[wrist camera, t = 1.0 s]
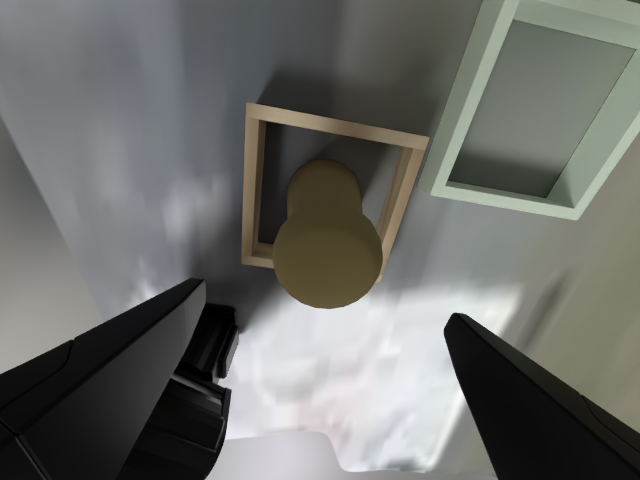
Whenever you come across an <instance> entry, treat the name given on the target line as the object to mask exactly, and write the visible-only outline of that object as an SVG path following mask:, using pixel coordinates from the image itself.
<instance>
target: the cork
mask: <svg viewBox="0 0 640 480" xmlns="http://www.w3.org/2000/svg"><path fill="white" fill-rule="evenodd" d="M287 217H288V219H287V220H286V221H285V222H284V223H283V224H282V225H281V227H280V230H279V232H278V235H277V237H276V239H275V242H274V245H273V267H274V270H275V273H276V275H277V278H278V281H279V282H280V283H281V285H282V286H283V287H284V288H285V290H286V291H287V292H288V293H289V294H290V295H291V296H292V297H294V298H295V299H297V300H298V301H299V302H301V303H303V304H306V305H309V306H312V307H315V308H324V309H333V308H339V307H344V306H347V305H349V304H351V303H354V302H356V301H358V300H359V299H360V298H362V297H363V296H364V295H365V294H367V293H368V292H369V290H370V289H371V288H372V286H373V285H374V283H375V282H376V280H377V279H378V277H379V275H380V271H381V267H382V263H383V252H382V243H381V239H380V237H379V235H378V234H377V232H376V230H375V228H374V226H373V224H372V222H371V221H370V220H369V219H368V218H367V217H366V216H365V215H363V214H362V205H361V194H360V186H359V183H358V181H357V179H356V177H355V175H354V174H353V173H352V172H351V171H350V170H349V169H348V168H347V167H346V166H345V165H343V164H341V163H339V162H337V161H335V160H326V159H320V160H315V161H311V162H308V163H307V164H305V165H303V166H302V167H300V168H299V169H298V170H297V171H296V172H295V174H294V175H293V176H292V177H291V180H290V182H289V185H288V187H287Z"/></svg>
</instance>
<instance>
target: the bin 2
mask: <svg viewBox="0 0 640 480" xmlns="http://www.w3.org/2000/svg"><path fill="white" fill-rule="evenodd" d="M513 19H514V20H518V21H523V22H527V23H531V24H535V25H539V26H543V27H547V28H552V29H556V30H560V31H564V32H568V33H572V34H576V35H581V36H585V37H589V38H593V39H597V40H601V41H606V42H610V43H614V44H618V45H622V46H626V47H630V48H635V49H636V51H635V53H634V54H633V56H632V58H631V59H630V61H629V63H628V64H627V66H626V68H625V69H624V71H623V73H622V74H621V76H620V77H619V79H618V81H617V82H616V84H615V86H614V87H613V89H612V91H611V92H610V94H609V96H608V97H607V99H606V101H605V102H604V104H603V106H602V107H601V109H600V110H599V112H598V114H597V115H596V117H595V119H594V120H593V122H592V124H591V125H590V127H589V129H588V130H587V132H586V134H585V135H584V137H583V138H582V140H581V142H580V143H579V145H578V147H577V148H576V150H575V152H574V153H573V155H572V157H571V158H570V160H569V162H568V163H567V165H566V167H565V168H564V170H563V171H562V173H561V175H560V176H559V178H558V180H557V181H556V183H555V185H554V186H553V188H552V190H551V191H550V193H549V195H548V196H547V198H542V197H536V196H531V195H525V194H519V193H514V192H508V191H502V190H497V189H491V188H486V187H480V186H474V185H469V184H463V183H457V182H452V181H447V180H448V177H449V175H450V173H451V170H452V168H453V165H454V163H455V160H456V158H457V155H458V153H459V150H460V148H461V145H462V143H463V140H464V138H465V136H466V133H467V131H468V128H469V126H470V123H471V121H472V118H473V116H474V113H475V111H476V108H477V106H478V103H479V101H480V99H481V96H482V94H483V91H484V89H485V86H486V84H487V81H488V79H489V76H490V74H491V71H492V69H493V66H494V64H495V62H496V59H497V57H498V54H499V52H500V49H501V47H502V44H503V42H504V39H505V37H506V34H507V32H508V29H509V27H510V24H511V22H512V20H513ZM639 131H640V4H638V3H635V2H631V1H627V0H483V2H482V5H481V7H480V10H479V13H478V16H477V19H476V21H475V24H474V27H473V30H472V33H471V36H470V38H469V41H468V44H467V47H466V50H465V53H464V55H463V58H462V61H461V64H460V67H459V70H458V72H457V75H456V78H455V81H454V84H453V86H452V89H451V92H450V95H449V98H448V101H447V103H446V106H445V109H444V112H443V115H442V118H441V120H440V123H439V126H438V129H437V132H436V135H435V137H434V140H433V143H432V146H431V149H430V151H429V154H428V157H427V160H426V163H425V166H424V168H423V171H422V174H421V177H420V180H419V183H418V185H417V186H418V187H419V188H421V189H422V190H424V191H425V192H426V193H428V194H429V195H432V196H438V197H444V198H450V199H455V200H461V201H467V202H473V203H479V204H484V205H490V206H496V207H502V208H508V209H514V210H519V211H525V212H531V213H537V214H543V215H549V216H554V217H560V218H566V219H572V220H578V219H579V217H580V216H581V214H582V213H583V211H584V210H585V209H586V207H587V206H588V204H589V203H590V201H591V200H592V199H593V197H594V196H595V194H596V193H597V191H598V190H599V188H600V187H601V186H602V184H603V183H604V181H605V180H606V178H607V177H608V175H609V174H610V173H611V171H612V170H613V168H614V167H615V165H616V164H617V163H618V161H619V160H620V158H621V157H622V155H623V154H624V152H625V151H626V150H627V148H628V147H629V145H630V144H631V142H632V141H633V139H634V138H635V137H636V135H637V134H638V132H639Z"/></svg>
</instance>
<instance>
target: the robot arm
mask: <svg viewBox="0 0 640 480" xmlns="http://www.w3.org/2000/svg"><path fill="white" fill-rule="evenodd" d="M205 302H206V282H205V280H204V279H201V278H190V279H188V280H186V281H184V282H182V283H180V284H178V285H176V286H174V287H172V288H170V289H168V290H166V291H165V292H163V293H161V294H159V295H157V296H155V297H153V298H151V299H149V300H147V301H145V302H143V303H141V304H139V305H137V306H135V307H133V308H132V309H130V310H128V311H126V312H124V313H122V314H120V315H118V316H116V317H114V318H112V319H110V320H108V321H106V322H104V323H103V324H100V325H98V326H97V327H95V328H93V329H91V330H89V331H87V332H85V333H83V334H81V335H79V336H77V337H75V338H74V340H69V341H67V342H65V343H63V344H61V345H60V346H58V347H55V348H54V349H52V350H50V351H48V352H46V353H44V354H41V355H40V356H37V357H35V358H34V359H31V360H29V361H27V362H25V363H23V364H21V365H19V366H17V367H15V368H13V369H10V370H8V371H6V372H4V373H2V374H0V480H205V479H206V477H207V476H208V475H209V473H210V471H211V470H212V468H213V466H214V465H215V463H216V461H217V458H218V456H219V454H220V452H221V449H222V446H223V443H224V440H225V435H226V429H227V421H228V414H229V406H230V398H231V389H228V388H224V387H221V386H219V385H217V384H218V381H219V379H220V378H222V379H224V378H225V377H226V376H227V374H228V371H229V368H230V365H231V362H232V359H233V356H234V354H235V351H236V348H237V345H238V329H239V328H238V326H237V325H236V310H235V308H233V307H228V306H220V305H212V304H205ZM444 337H445V340H446V344H447V347H448V350H449V354H450V357H451V360H452V364H453V367H454V370H455V373H456V376H457V379H458V381H459V384H460V386H461V389H462V391H463V394H464V396H465V399H466V401H467V404H468V406H469V409H470V411H471V414H472V416H473V419H474V421H475V424H476V426H477V429H478V431H479V434H480V436H481V439H482V441H483V444H484V446H485V449H486V451H487V453H488V456H489V458H490V461H491V463H492V466H493V468H494V471H495V473H496V476H497V478H498V480H640V433H638V432H637V431H635V430H634V429H632V428H631V427H629V426H627V425H626V424H624V423H623V422H621V421H620V420H618V419H617V418H616V417H614V416H613V415H611V414H610V413H608V412H607V411H605V410H604V409H602V408H601V407H599V406H598V405H596V404H595V403H593V402H592V401H591V400H589V399H588V398H586V397H585V396H583V395H580V393H579V392H577V391H576V390H575V389H573V388H572V387H570V386H569V385H567V384H566V383H564V382H563V381H562V380H560V379H559V378H557V377H556V376H554V375H553V374H551V373H550V372H549V371H547V370H546V369H544V368H543V367H541V366H540V365H538V364H537V363H536V362H534V361H533V360H531V359H530V358H528V357H527V356H525V355H524V354H523V353H521V352H520V351H518V350H517V349H515V348H514V347H512V346H511V345H509V344H508V343H507V342H505V341H504V340H502V339H501V338H499V337H498V336H496V335H495V334H494V333H492V332H491V331H489V330H488V329H486V328H485V327H483V326H482V325H481V324H479V323H478V322H476V321H475V320H473V319H472V318H470V317H469V316H468V315H466V314H462V313H453V314H452V315H451V317H450V319H449V320H448V322H447V324H446V326H445V328H444Z"/></svg>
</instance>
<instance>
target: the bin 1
mask: <svg viewBox="0 0 640 480" xmlns="http://www.w3.org/2000/svg"><path fill="white" fill-rule="evenodd" d="M266 121H271V122H276V123H281V124H287V125H292V126H297V127H303V128H308V129H313V130H319V131H324V132H329V133H335V134H340V135H345V136H351V137H356V138H362V139H367V140H372V141H378V142H383V143H388V144H394V145H399V146H401V149H400V152H399V156H398V159H397V162H396V166H395V169H394V172H393V176H392V179H391V182H390V186H389V189H388V192H387V196H386V199H385V202H384V205H383V209H382V212H381V215H380V219H379V222H378V225H377V229H376V232H377V234H378V235H379V237H380V239H381V243H382V252H383V263H382V267H381V271H380V275H379V277H378V279H377V280H376V283H380V280H381V277H382V274H383V271H384V269H385V266H386V263H387V260H388V257H389V254H390V251H391V248H392V245H393V243H394V240H395V237H396V234H397V231H398V228H399V225H400V222H401V219H402V217H403V214H404V211H405V208H406V205H407V202H408V199H409V196H410V193H411V191H412V188H413V185H414V182H415V179H416V176H417V173H418V170H419V167H420V165H421V162H422V159H423V156H424V153H425V150H426V147H427V144H428V141H429V139H430V137H426V136H421V135H416V134H411V133H406V132H401V131H395V130H390V129H385V128H380V127H375V126H369V125H364V124H359V123H354V122H349V121H343V120H338V119H333V118H328V117H323V116H317V115H312V114H307V113H302V112H297V111H291V110H286V109H281V108H276V107H271V106H265V105H260V104H255V103H249V102H246V124H245V155H244V186H243V218H242V249H241V264H246V265H253V266H260V267H268V268H274V267H273V244H266V243H259V242H258V238H259V223H260V208H261V193H262V177H263V162H264V147H265V132H266Z"/></svg>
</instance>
